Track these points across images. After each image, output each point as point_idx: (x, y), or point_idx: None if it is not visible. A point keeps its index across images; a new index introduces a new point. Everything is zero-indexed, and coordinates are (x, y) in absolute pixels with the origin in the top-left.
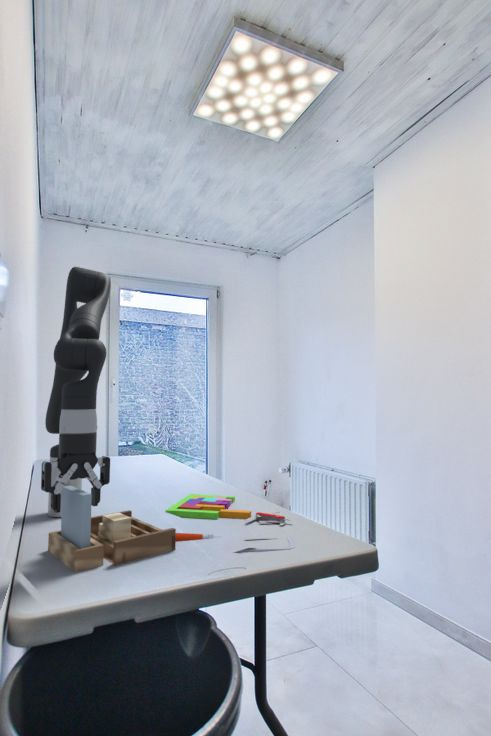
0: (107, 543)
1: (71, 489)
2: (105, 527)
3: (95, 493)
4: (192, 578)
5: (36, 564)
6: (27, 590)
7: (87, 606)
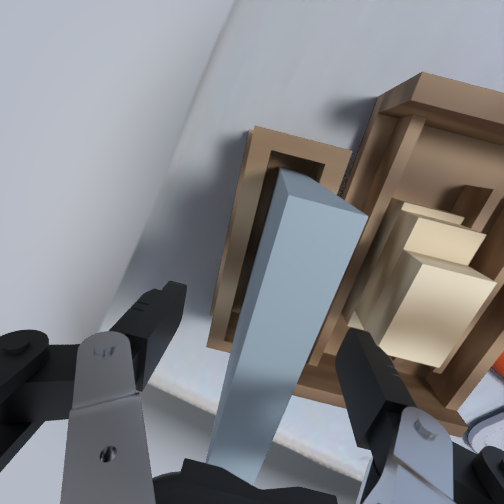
0: (339, 301)
1: (255, 354)
2: (390, 272)
3: (351, 421)
4: (334, 448)
5: (208, 168)
6: (136, 284)
7: (177, 394)
